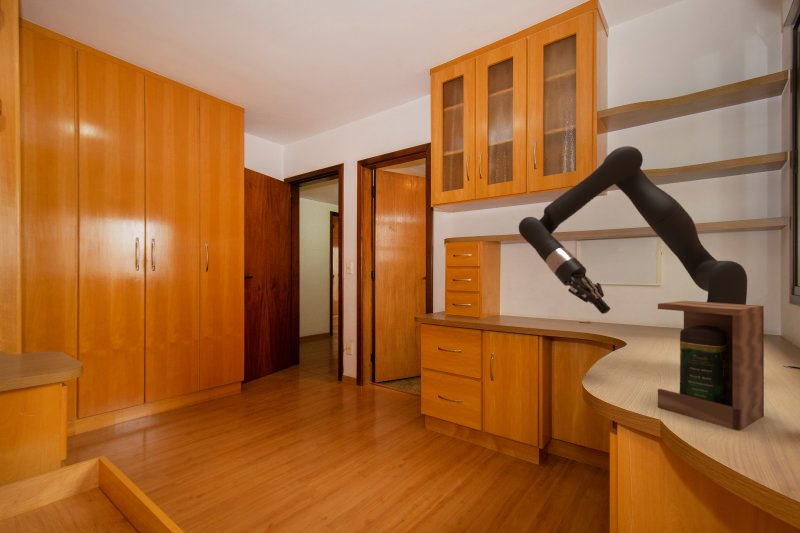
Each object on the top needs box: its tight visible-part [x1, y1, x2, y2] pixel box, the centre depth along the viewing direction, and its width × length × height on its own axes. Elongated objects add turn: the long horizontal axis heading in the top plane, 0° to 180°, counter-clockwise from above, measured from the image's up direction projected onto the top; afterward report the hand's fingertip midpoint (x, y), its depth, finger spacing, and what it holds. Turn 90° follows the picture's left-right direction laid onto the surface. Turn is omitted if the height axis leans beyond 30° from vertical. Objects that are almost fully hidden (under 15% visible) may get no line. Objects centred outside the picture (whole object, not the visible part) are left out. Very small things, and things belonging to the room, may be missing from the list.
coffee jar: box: [678, 325, 727, 405], centre depth 82 cm, size 10×8×19 cm
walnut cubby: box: [657, 300, 765, 431], centre depth 81 cm, size 14×14×23 cm
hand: (606, 311), depth 100 cm, fingers closed
